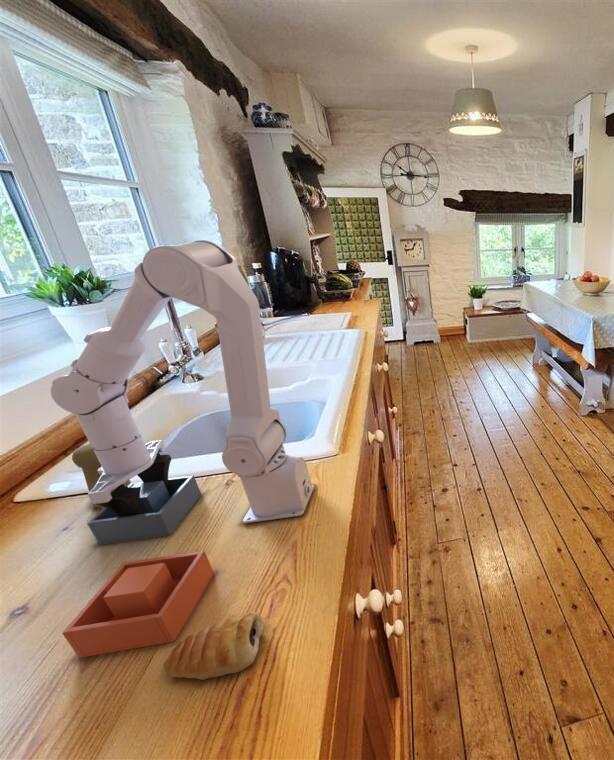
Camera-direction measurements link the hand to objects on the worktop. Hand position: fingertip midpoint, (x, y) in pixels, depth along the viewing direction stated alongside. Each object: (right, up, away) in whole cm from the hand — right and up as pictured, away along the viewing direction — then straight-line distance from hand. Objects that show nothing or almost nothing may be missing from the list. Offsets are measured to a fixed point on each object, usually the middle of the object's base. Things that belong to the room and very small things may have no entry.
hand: (150, 509), depth 69 cm
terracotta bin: (+14, -8, -16) cm, 23 cm away
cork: (-12, 0, +7) cm, 14 cm away
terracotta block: (+14, -8, -16) cm, 23 cm away
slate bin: (0, -2, +1) cm, 2 cm away
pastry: (+27, -10, -21) cm, 36 cm away
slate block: (0, -1, +1) cm, 2 cm away
